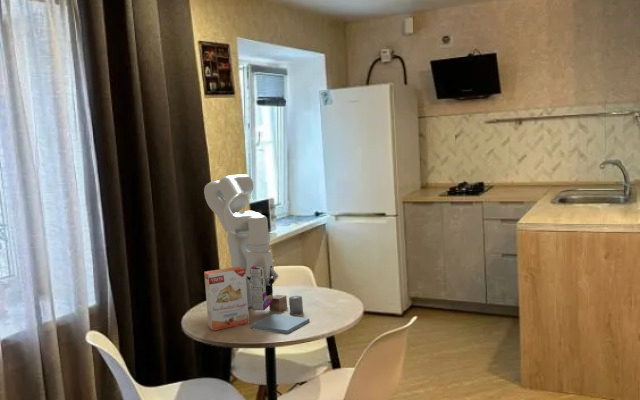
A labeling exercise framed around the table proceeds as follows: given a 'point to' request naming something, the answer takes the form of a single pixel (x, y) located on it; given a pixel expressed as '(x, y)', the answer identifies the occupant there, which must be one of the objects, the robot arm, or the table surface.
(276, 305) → the walnut block
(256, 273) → the candy bar box
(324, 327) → the table surface
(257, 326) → the slate board
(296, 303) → the charcoal cylinder
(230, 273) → the cracker box
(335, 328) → the table surface
